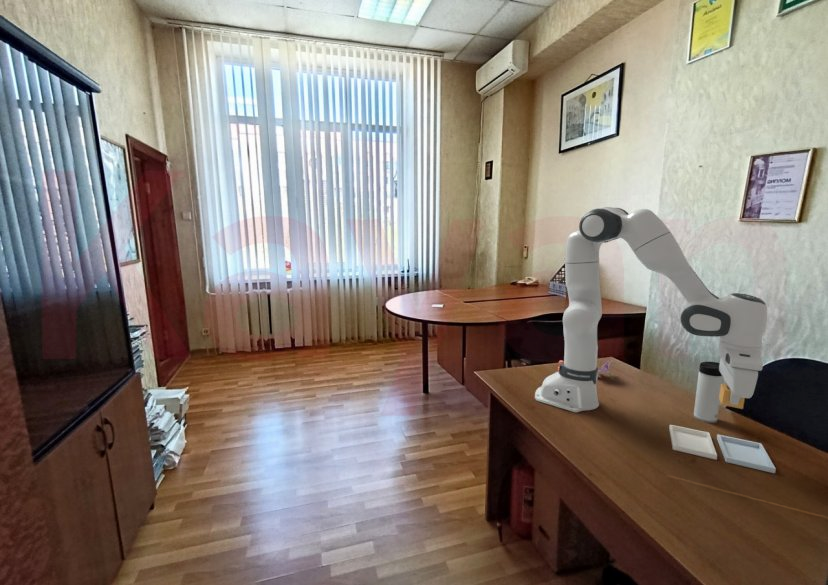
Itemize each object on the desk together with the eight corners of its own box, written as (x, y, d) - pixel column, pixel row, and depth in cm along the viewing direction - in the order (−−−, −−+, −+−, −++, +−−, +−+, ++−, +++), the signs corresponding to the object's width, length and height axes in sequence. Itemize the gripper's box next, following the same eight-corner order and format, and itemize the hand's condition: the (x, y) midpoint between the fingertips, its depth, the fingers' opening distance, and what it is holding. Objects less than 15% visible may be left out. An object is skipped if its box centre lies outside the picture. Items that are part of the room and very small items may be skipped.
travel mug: (722, 425, 120) (730, 367, 116) (699, 423, 121) (706, 366, 118) (711, 415, 126) (718, 360, 122) (689, 414, 127) (696, 359, 124)
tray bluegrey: (725, 463, 101) (726, 457, 101) (716, 439, 112) (717, 434, 112) (774, 474, 96) (775, 468, 96) (760, 448, 107) (761, 443, 107)
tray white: (672, 450, 107) (673, 445, 107) (669, 429, 118) (669, 424, 118) (716, 461, 102) (717, 455, 102) (708, 437, 113) (709, 432, 113)
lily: (613, 375, 163) (603, 355, 165) (631, 375, 152) (620, 354, 154) (591, 386, 161) (581, 366, 163) (608, 387, 150) (596, 365, 151)
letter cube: (721, 404, 103) (724, 389, 102) (718, 398, 107) (721, 383, 106) (742, 408, 101) (745, 393, 100) (738, 402, 105) (741, 387, 104)
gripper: (716, 340, 111) (710, 382, 114) (732, 362, 94) (724, 412, 97) (743, 343, 108) (736, 387, 111) (765, 367, 91) (755, 418, 93)
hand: (730, 399), depth 104 cm, fingers closed on letter cube, 4 cm apart
